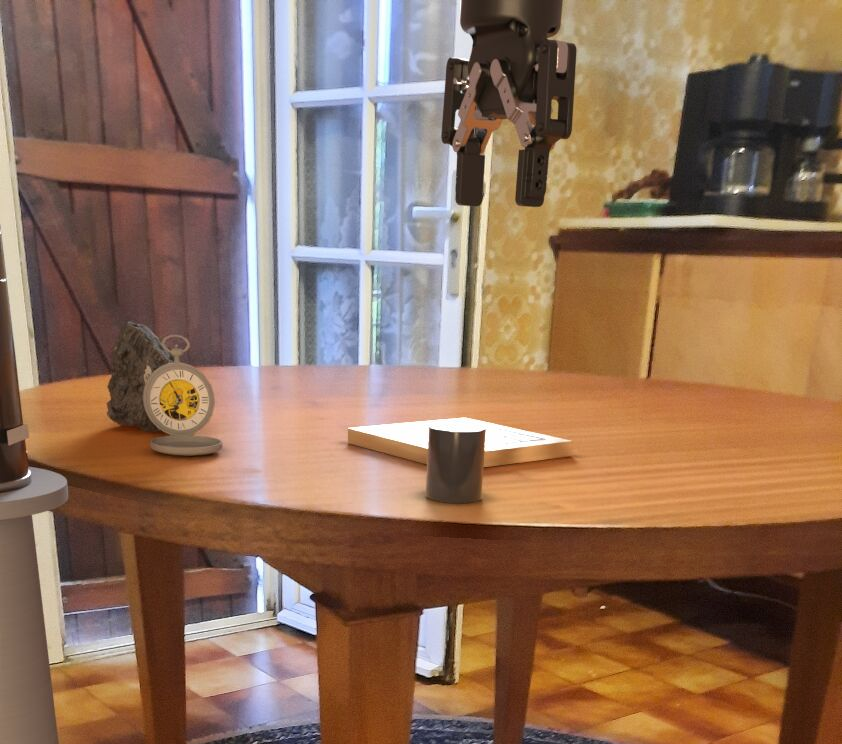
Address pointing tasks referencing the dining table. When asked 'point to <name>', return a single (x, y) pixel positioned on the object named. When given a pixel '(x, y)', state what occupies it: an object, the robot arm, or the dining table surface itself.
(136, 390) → the rock
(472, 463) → the cylinder
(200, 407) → the pocket watch
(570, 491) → the dining table surface
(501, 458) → the board
